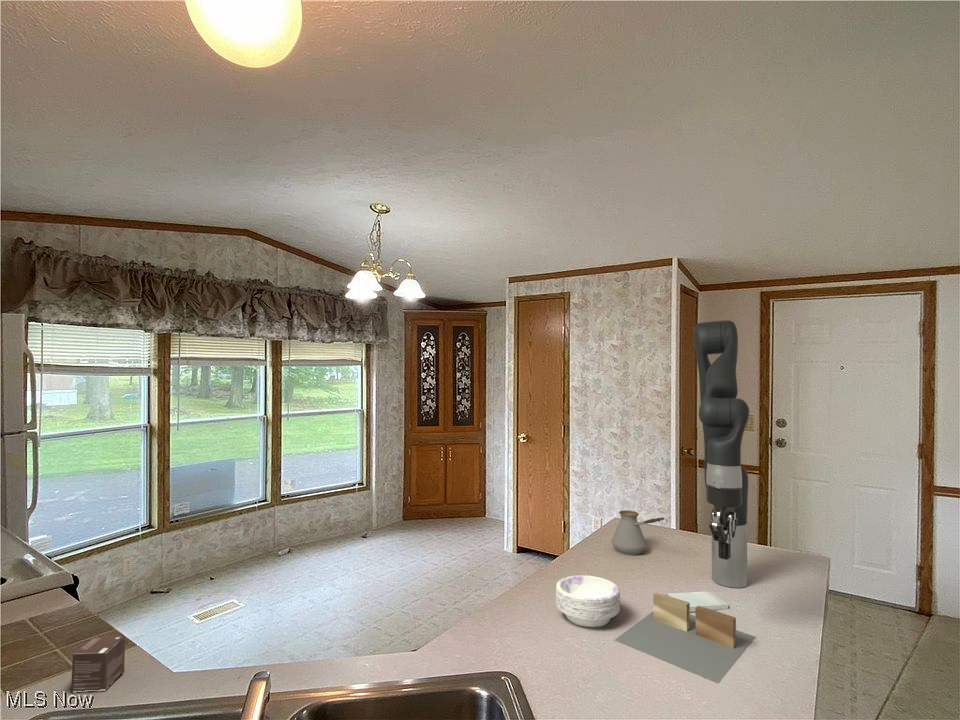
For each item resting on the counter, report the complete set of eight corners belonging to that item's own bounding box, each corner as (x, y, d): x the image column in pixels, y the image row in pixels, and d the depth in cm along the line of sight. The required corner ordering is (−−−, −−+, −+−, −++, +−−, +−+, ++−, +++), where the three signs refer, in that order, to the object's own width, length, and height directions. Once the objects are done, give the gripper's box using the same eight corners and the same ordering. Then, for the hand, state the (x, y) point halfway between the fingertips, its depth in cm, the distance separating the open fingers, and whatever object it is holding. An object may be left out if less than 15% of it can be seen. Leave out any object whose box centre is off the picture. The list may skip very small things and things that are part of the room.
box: (92, 674, 97) (94, 636, 98) (125, 673, 98) (126, 635, 98) (69, 694, 91) (71, 653, 92) (104, 692, 92) (105, 652, 92)
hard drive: (684, 606, 123) (728, 603, 126) (665, 593, 131) (707, 590, 134) (684, 613, 123) (728, 610, 126) (665, 599, 131) (707, 596, 134)
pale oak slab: (656, 617, 121) (656, 592, 121) (689, 628, 116) (689, 602, 116) (653, 619, 120) (653, 594, 120) (686, 631, 114) (686, 605, 114)
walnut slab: (698, 632, 114) (698, 605, 114) (736, 645, 109) (735, 617, 109) (695, 634, 113) (695, 608, 113) (733, 648, 107) (733, 620, 107)
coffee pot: (604, 548, 171) (604, 504, 171) (629, 543, 176) (629, 500, 176) (652, 570, 152) (651, 520, 152) (678, 563, 157) (678, 515, 157)
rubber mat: (661, 606, 128) (661, 604, 128) (756, 638, 112) (756, 636, 112) (614, 641, 110) (614, 639, 111) (717, 685, 95) (717, 683, 95)
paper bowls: (572, 599, 132) (572, 568, 132) (628, 615, 123) (628, 582, 123) (544, 622, 119) (544, 588, 120) (605, 642, 110) (605, 605, 111)
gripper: (717, 477, 124) (717, 547, 123) (696, 484, 114) (696, 561, 114) (750, 481, 119) (751, 555, 118) (731, 490, 109) (732, 570, 109)
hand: (724, 558), depth 116 cm, fingers closed
